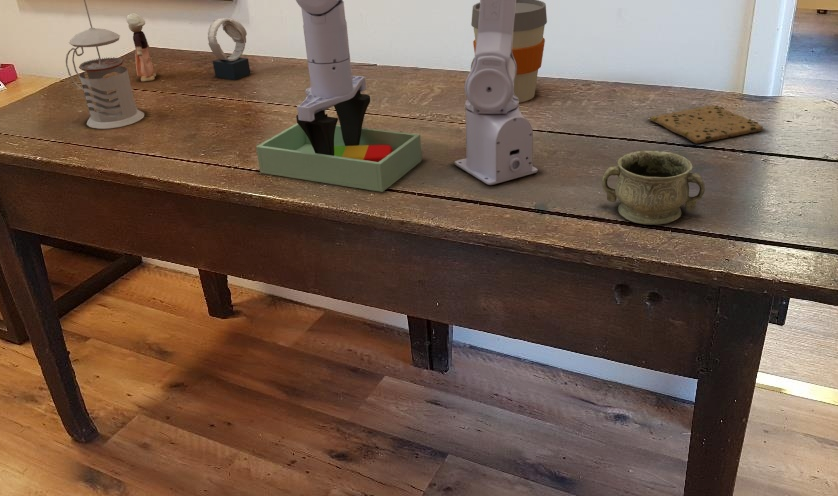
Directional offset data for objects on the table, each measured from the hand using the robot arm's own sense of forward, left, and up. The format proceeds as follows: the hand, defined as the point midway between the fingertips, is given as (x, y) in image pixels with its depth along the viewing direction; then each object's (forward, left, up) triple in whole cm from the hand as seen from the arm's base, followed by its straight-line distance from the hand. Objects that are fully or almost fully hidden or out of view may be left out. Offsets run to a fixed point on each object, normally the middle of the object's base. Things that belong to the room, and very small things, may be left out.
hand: (339, 154), depth 114 cm
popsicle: (0, 0, -2) cm, 2 cm away
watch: (+58, -2, -2) cm, 58 cm away
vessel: (-36, -26, -2) cm, 44 cm away
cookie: (-18, -53, -2) cm, 56 cm away
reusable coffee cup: (+13, -38, -2) cm, 40 cm away
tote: (0, 0, -2) cm, 2 cm away
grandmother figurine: (+67, +13, -2) cm, 68 cm away
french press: (+45, +24, -2) cm, 51 cm away
